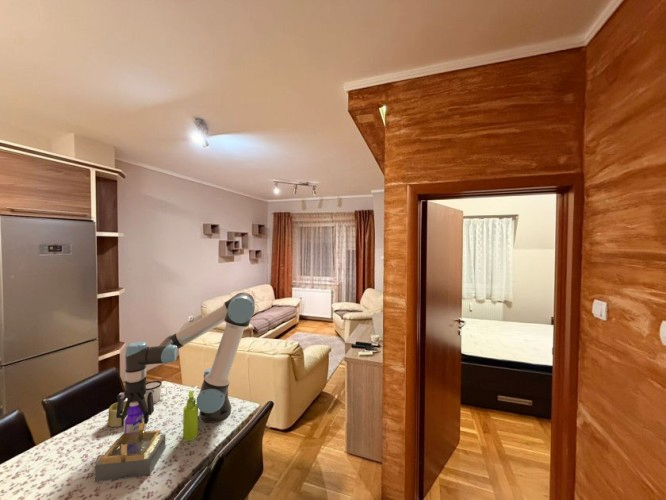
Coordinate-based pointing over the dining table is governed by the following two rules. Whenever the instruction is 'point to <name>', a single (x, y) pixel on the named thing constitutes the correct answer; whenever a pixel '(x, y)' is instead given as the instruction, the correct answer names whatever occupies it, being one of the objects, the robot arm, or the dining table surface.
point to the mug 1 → (114, 415)
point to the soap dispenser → (190, 419)
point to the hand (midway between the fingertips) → (135, 431)
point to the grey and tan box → (131, 455)
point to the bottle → (133, 417)
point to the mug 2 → (156, 387)
